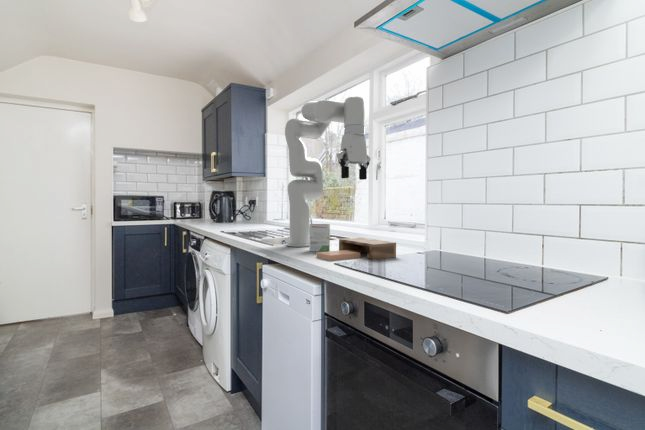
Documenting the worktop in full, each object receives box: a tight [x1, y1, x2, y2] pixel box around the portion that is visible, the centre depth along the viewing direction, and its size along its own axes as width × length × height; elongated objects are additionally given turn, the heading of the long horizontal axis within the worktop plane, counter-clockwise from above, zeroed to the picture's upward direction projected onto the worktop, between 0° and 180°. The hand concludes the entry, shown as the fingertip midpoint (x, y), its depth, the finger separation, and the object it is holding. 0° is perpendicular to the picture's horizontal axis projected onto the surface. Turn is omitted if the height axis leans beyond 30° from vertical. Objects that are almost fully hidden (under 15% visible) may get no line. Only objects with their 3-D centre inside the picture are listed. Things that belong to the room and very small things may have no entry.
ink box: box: [308, 223, 331, 252], centre depth 150 cm, size 9×5×12 cm, turn 84°
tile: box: [316, 249, 361, 262], centre depth 132 cm, size 9×14×2 cm, turn 123°
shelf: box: [338, 237, 397, 260], centre depth 139 cm, size 22×11×6 cm, turn 33°
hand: (354, 178), depth 128 cm, fingers open, 9 cm apart
